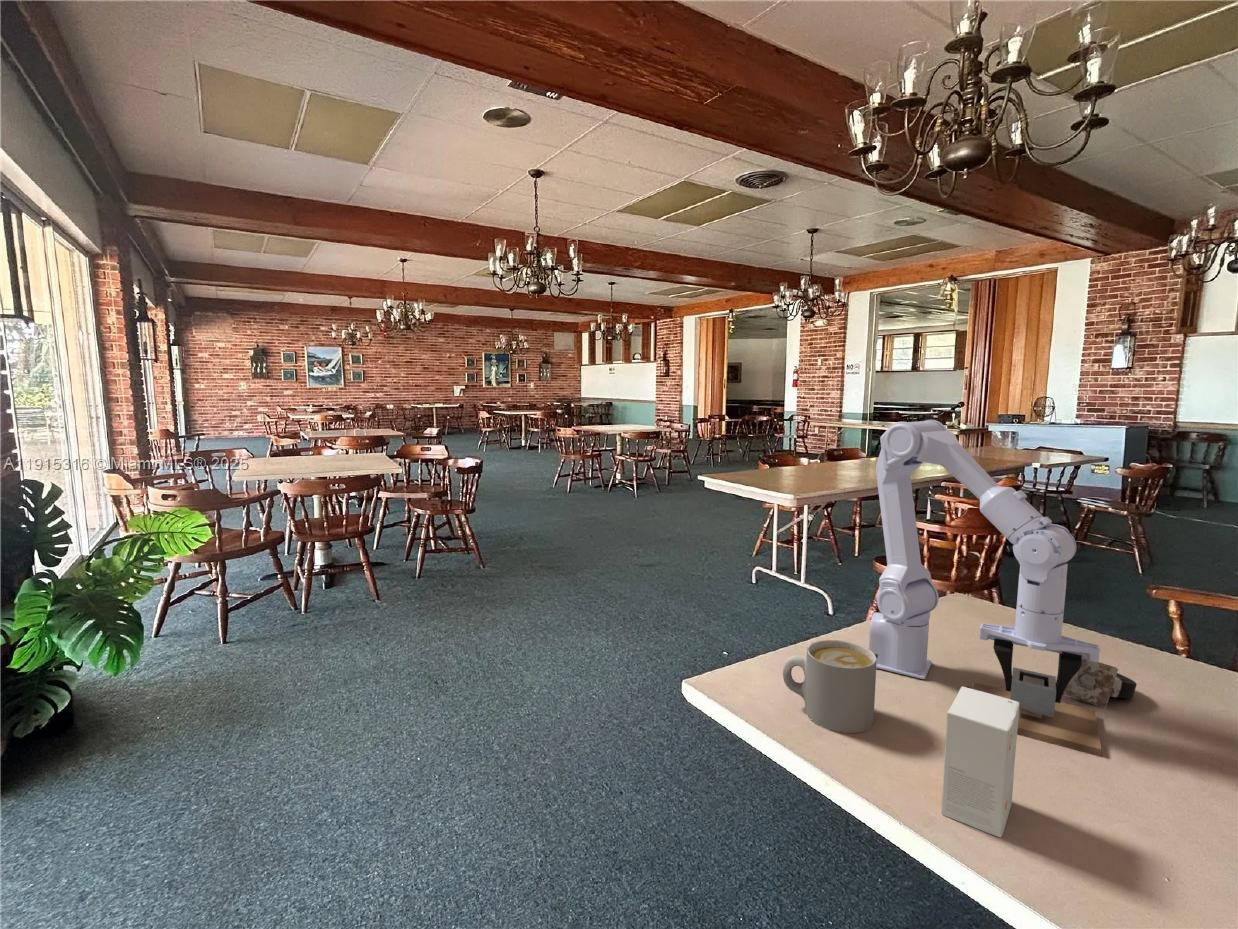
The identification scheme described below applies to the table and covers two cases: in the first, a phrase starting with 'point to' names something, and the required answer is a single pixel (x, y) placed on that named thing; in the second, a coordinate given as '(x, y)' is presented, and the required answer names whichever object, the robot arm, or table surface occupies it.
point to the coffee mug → (836, 684)
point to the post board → (1055, 722)
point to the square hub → (1034, 692)
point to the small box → (980, 760)
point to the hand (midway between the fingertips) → (1032, 694)
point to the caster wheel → (1099, 684)
